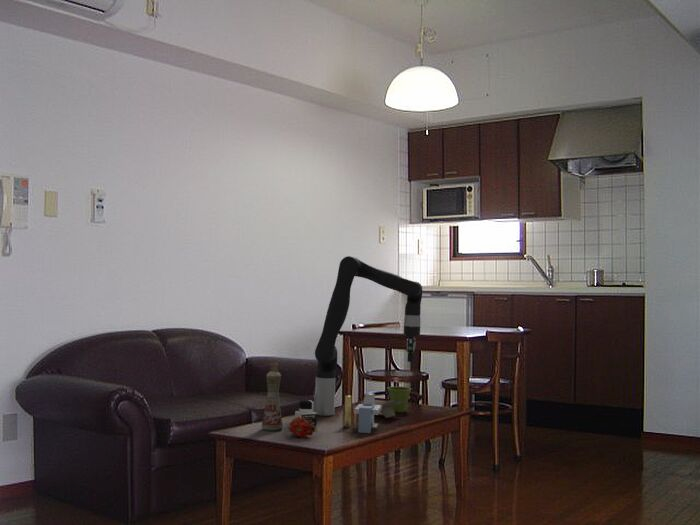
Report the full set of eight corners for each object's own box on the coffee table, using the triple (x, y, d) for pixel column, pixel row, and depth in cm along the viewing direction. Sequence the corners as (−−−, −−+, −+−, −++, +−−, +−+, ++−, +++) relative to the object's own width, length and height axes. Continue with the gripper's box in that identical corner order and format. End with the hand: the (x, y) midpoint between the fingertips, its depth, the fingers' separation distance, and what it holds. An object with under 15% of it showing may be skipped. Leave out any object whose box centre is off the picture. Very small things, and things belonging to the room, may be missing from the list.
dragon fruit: (288, 438, 326) (312, 446, 319) (280, 428, 320) (304, 437, 313) (298, 420, 330) (322, 428, 323) (290, 410, 323) (314, 418, 317)
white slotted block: (370, 429, 365) (395, 409, 361) (360, 413, 369) (385, 393, 365) (385, 429, 379) (409, 410, 376) (376, 414, 383) (399, 395, 379)
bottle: (286, 428, 338) (288, 361, 339) (276, 432, 330) (278, 363, 330) (268, 426, 341) (270, 360, 342) (257, 430, 333) (259, 362, 334)
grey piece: (353, 430, 339) (354, 396, 339) (358, 424, 353) (359, 392, 353) (377, 431, 337) (378, 398, 337) (381, 425, 351) (382, 393, 352)
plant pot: (381, 411, 391) (382, 387, 391) (396, 408, 400) (396, 385, 400) (401, 414, 384) (401, 390, 384) (415, 411, 393) (416, 388, 393)
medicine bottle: (301, 431, 334) (302, 402, 334) (294, 428, 340) (295, 399, 340) (316, 430, 337) (317, 401, 337) (309, 427, 343) (310, 398, 344)
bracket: (358, 432, 334) (359, 407, 334) (362, 427, 346) (362, 403, 346) (370, 433, 333) (371, 408, 334) (373, 428, 345) (374, 404, 346)
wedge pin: (344, 426, 347) (344, 396, 347) (345, 425, 350) (345, 395, 350) (350, 426, 347) (350, 396, 347) (350, 425, 349) (351, 395, 349)
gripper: (404, 323, 376) (403, 358, 375) (402, 325, 362) (401, 361, 361) (421, 324, 375) (419, 359, 374) (419, 326, 361) (418, 362, 360)
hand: (410, 360), depth 368 cm, fingers open, 8 cm apart
